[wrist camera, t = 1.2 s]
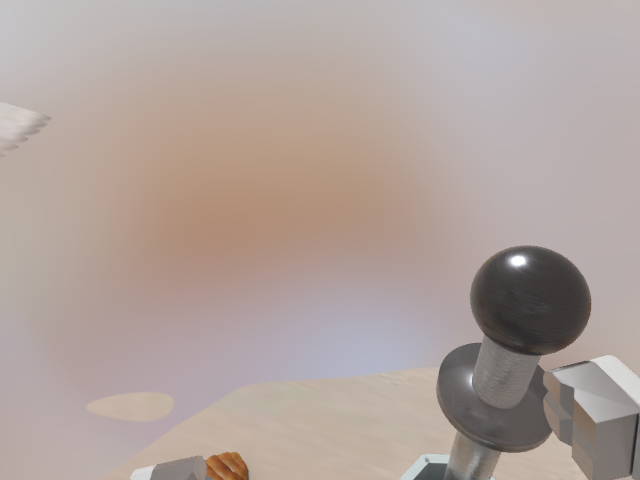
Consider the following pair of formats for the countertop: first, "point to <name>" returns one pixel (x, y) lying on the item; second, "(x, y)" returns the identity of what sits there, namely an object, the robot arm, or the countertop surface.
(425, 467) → the grey faceted holder
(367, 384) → the countertop surface
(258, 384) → the countertop surface
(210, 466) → the pastry
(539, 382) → the plunger
